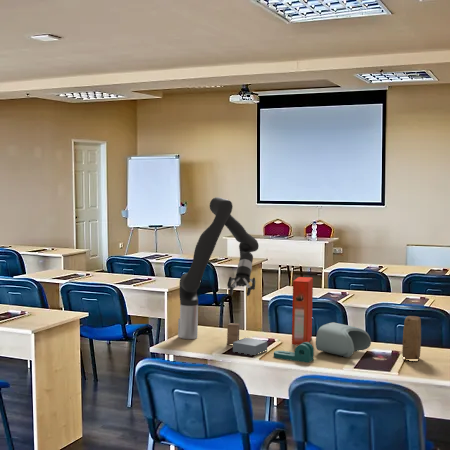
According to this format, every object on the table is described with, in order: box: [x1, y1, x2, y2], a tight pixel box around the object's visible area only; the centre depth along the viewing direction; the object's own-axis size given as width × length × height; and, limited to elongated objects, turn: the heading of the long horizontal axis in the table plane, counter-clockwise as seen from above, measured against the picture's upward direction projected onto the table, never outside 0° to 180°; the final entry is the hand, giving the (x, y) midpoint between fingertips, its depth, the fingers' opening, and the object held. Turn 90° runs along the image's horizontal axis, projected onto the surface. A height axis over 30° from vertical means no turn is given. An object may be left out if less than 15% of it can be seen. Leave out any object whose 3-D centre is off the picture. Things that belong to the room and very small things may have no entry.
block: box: [401, 315, 422, 360], centre depth 301 cm, size 11×8×20 cm
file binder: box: [291, 276, 314, 346], centre depth 332 cm, size 8×17×32 cm, turn 165°
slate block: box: [232, 337, 268, 356], centre depth 309 cm, size 12×12×5 cm
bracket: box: [273, 341, 315, 364], centre depth 298 cm, size 18×7×8 cm, turn 64°
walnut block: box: [226, 322, 240, 346], centre depth 322 cm, size 5×5×10 cm
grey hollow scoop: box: [315, 321, 372, 358], centre depth 310 cm, size 22×19×13 cm
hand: (239, 294), depth 332 cm, fingers open, 8 cm apart
